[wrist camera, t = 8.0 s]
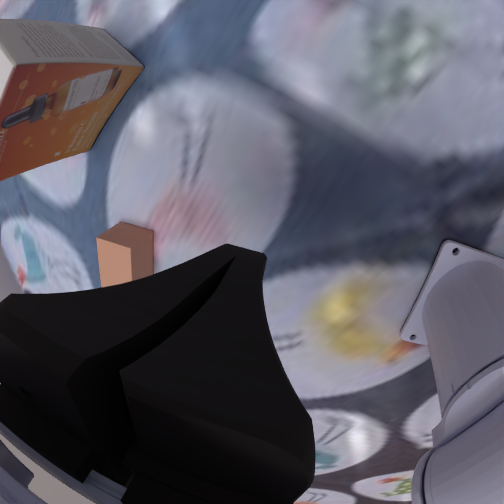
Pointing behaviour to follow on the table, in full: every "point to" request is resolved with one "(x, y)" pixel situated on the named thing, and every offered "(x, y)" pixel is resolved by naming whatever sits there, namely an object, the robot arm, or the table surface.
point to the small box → (56, 90)
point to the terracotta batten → (125, 254)
